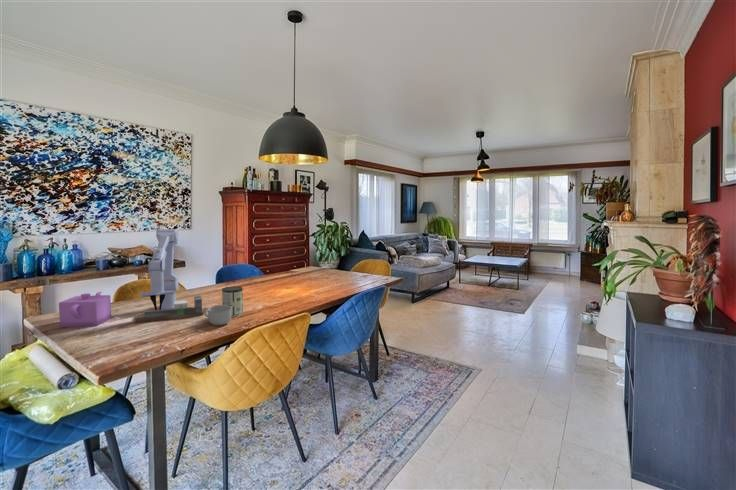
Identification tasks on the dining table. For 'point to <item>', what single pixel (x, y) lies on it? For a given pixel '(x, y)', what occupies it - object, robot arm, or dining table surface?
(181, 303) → the gauge slider
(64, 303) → the purple box
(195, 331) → the dining table surface
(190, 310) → the gauge base
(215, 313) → the teacup
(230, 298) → the coffee can
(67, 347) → the dining table surface
